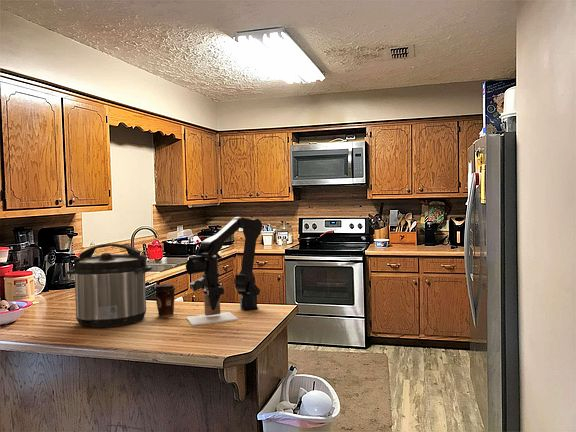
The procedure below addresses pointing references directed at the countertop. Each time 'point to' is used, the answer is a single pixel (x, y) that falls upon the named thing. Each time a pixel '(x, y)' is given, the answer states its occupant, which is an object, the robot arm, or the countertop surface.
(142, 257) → the pressure cooker
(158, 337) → the countertop surface
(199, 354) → the countertop surface
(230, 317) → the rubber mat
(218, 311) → the walnut slab
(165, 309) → the coffee cup
